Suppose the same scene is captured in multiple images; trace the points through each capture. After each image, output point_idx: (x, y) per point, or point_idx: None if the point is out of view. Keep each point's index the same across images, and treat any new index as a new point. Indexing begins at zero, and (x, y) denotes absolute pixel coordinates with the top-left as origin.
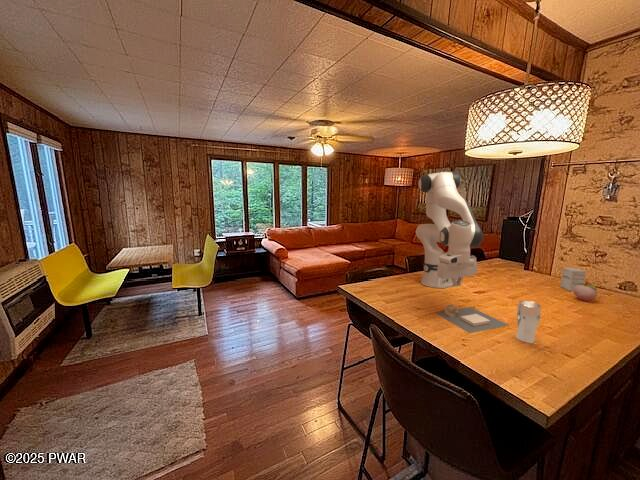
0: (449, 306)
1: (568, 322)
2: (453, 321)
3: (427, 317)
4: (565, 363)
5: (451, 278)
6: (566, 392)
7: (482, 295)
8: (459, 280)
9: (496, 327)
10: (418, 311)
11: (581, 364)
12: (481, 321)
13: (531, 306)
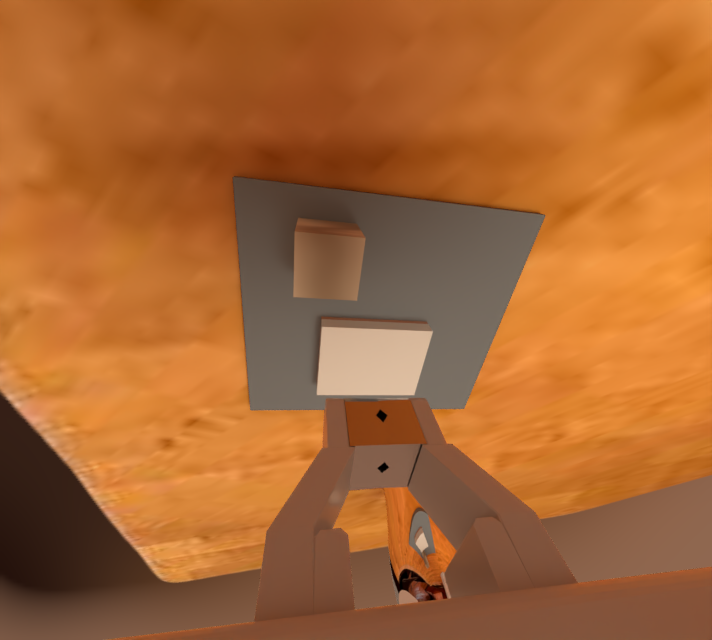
0: (313, 258)
1: (644, 431)
2: (264, 317)
3: (141, 197)
4: (366, 526)
5: (266, 548)
6: (260, 564)
7: None
8: (435, 504)
9: None
10: (115, 57)
11: None
12: (367, 392)
13: None
